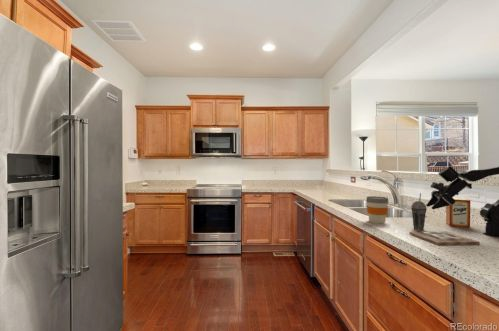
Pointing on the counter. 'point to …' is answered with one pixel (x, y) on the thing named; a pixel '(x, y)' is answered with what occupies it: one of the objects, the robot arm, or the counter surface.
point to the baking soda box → (458, 213)
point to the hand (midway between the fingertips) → (429, 207)
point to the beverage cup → (418, 214)
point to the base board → (444, 238)
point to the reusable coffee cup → (377, 208)
